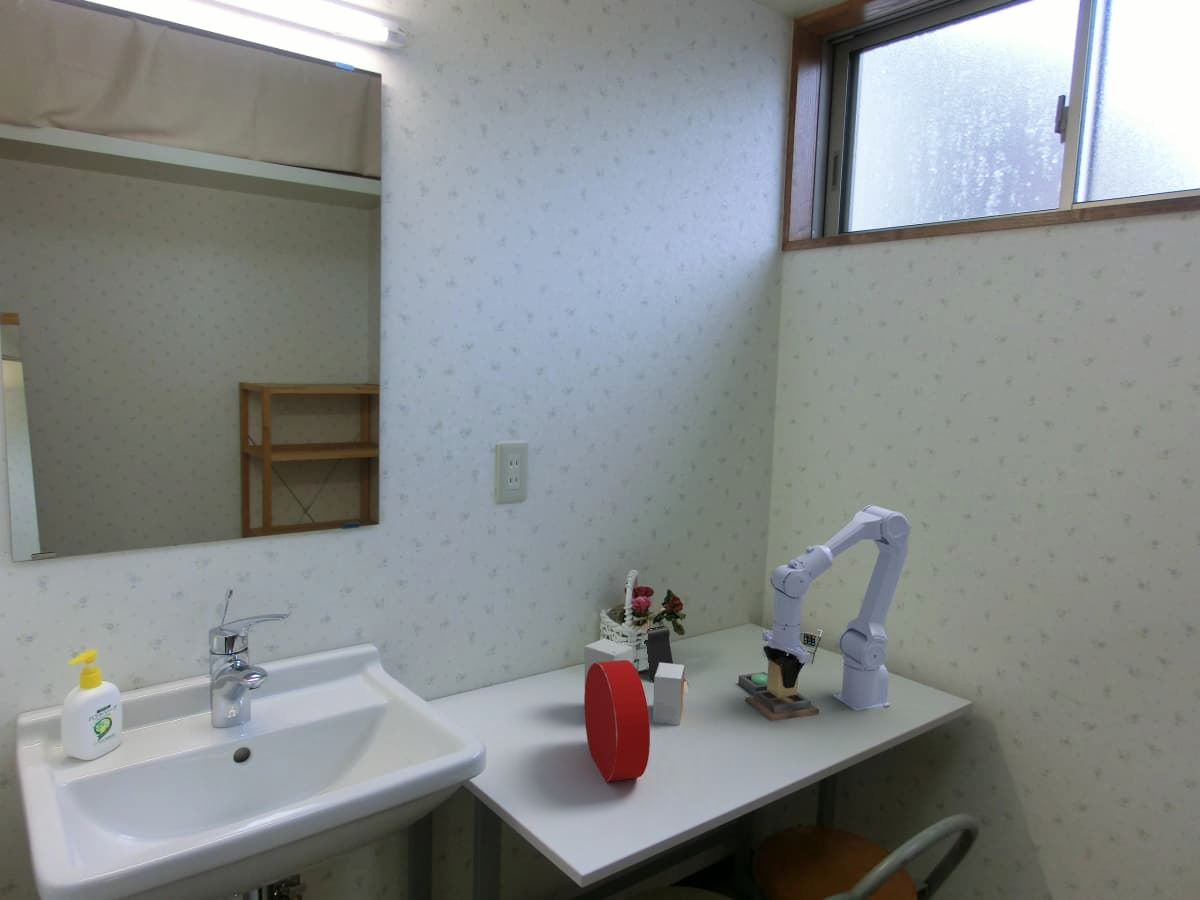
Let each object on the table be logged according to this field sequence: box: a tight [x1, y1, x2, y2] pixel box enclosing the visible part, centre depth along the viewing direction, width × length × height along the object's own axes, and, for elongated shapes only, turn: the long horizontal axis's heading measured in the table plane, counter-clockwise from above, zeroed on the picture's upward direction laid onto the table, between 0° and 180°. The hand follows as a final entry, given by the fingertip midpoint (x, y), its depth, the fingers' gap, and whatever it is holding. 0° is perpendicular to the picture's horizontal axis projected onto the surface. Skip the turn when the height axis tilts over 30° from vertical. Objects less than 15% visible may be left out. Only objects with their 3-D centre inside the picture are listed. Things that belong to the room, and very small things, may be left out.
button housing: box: [737, 671, 768, 696], centre depth 176 cm, size 7×7×2 cm
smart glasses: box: [799, 628, 823, 665], centre depth 200 cm, size 12×14×5 cm
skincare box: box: [583, 638, 634, 684], centre depth 158 cm, size 8×7×16 cm
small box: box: [652, 663, 686, 726], centre depth 159 cm, size 8×6×10 cm
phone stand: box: [644, 625, 674, 683], centre depth 181 cm, size 9×6×12 cm, turn 32°
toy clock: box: [583, 660, 651, 783], centre depth 137 cm, size 20×6×20 cm, turn 17°
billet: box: [767, 658, 799, 698], centre depth 166 cm, size 5×4×7 cm
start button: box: [751, 673, 768, 685], centre depth 176 cm, size 4×4×2 cm
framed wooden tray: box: [744, 690, 820, 722], centre depth 167 cm, size 12×10×2 cm
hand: (782, 683), depth 166 cm, fingers closed on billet, 4 cm apart
